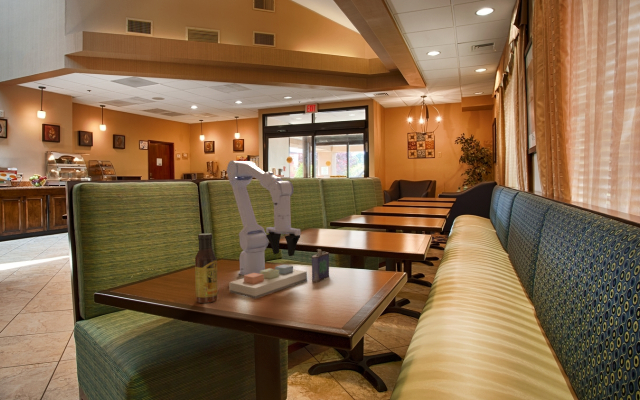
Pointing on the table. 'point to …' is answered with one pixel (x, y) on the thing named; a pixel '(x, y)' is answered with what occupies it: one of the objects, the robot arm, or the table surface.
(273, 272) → the sage key
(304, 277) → the keypad base
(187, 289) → the table surface
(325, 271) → the flask
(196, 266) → the sauce bottle
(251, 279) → the terracotta key
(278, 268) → the slate key
